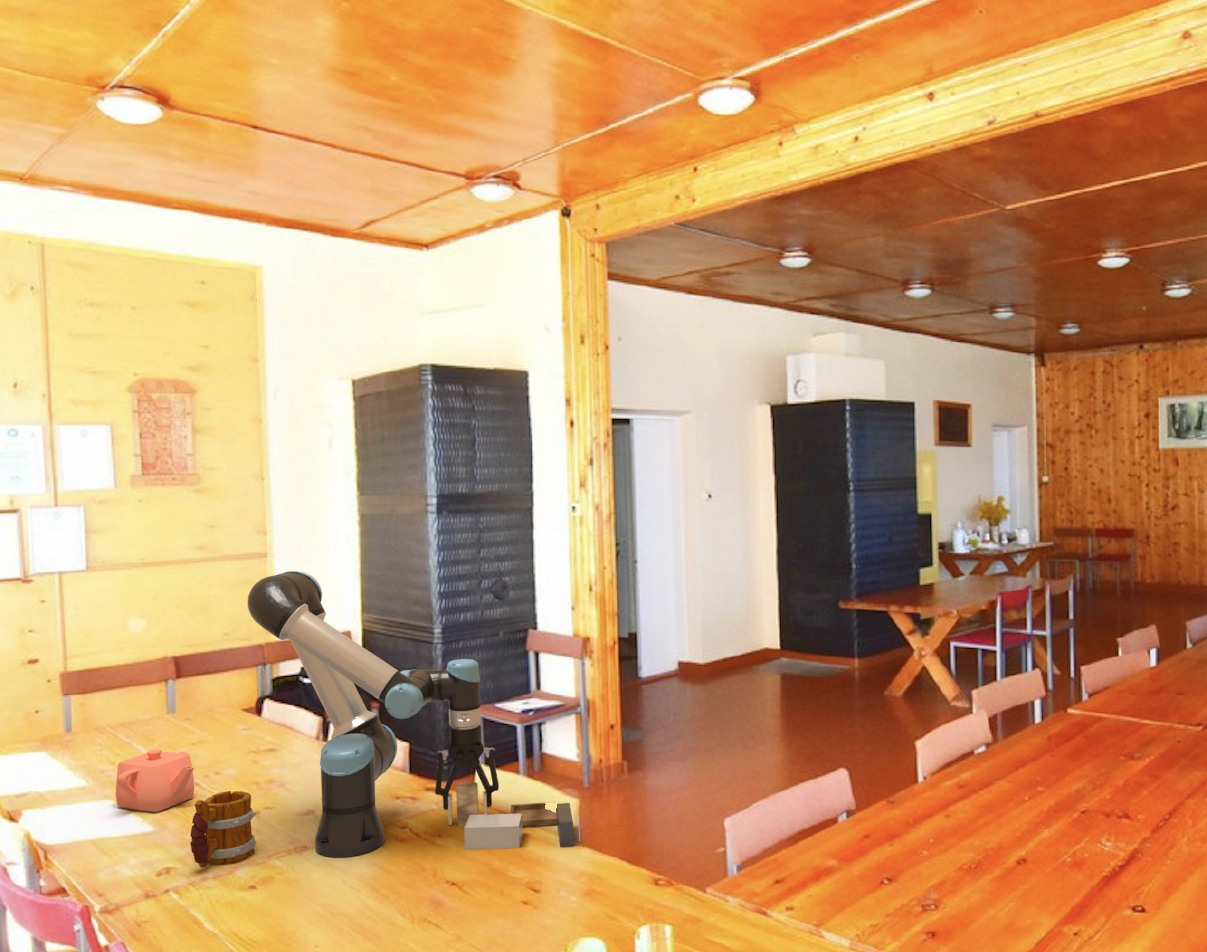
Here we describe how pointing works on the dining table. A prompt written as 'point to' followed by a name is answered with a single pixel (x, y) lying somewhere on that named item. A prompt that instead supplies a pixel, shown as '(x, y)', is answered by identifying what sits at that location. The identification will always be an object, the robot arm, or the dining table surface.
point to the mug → (222, 829)
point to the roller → (466, 801)
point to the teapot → (154, 781)
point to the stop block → (565, 825)
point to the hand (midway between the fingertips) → (468, 821)
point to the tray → (535, 815)
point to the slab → (493, 831)
